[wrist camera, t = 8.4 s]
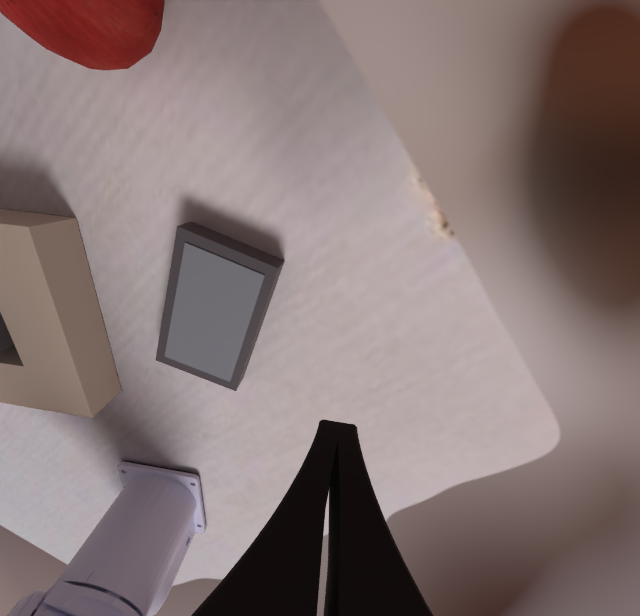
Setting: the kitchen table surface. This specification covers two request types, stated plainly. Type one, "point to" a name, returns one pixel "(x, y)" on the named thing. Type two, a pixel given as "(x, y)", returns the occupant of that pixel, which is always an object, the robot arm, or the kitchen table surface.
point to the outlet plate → (51, 318)
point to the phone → (215, 304)
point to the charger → (4, 336)
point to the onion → (90, 28)
